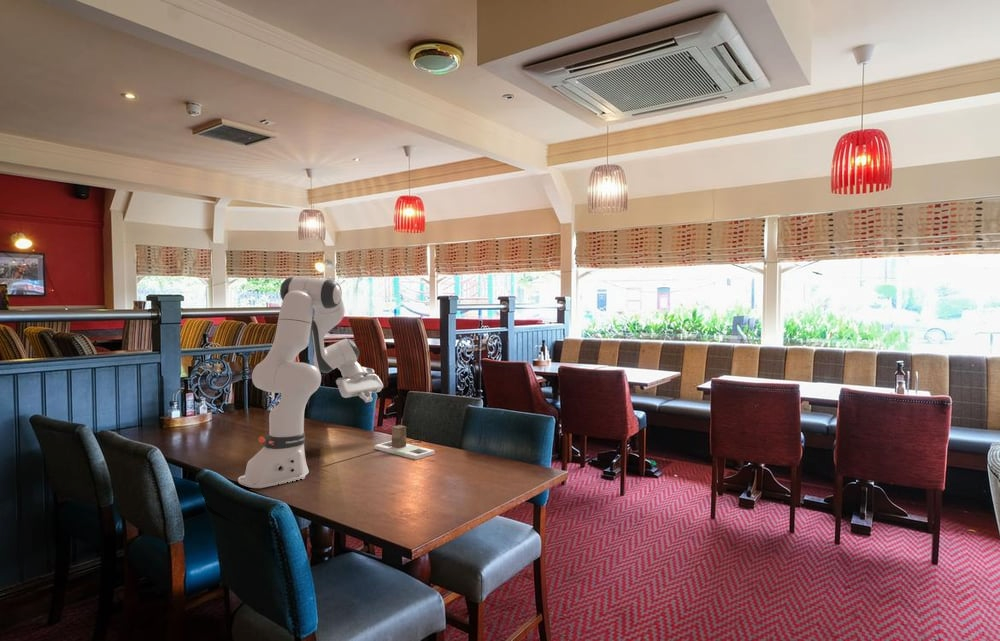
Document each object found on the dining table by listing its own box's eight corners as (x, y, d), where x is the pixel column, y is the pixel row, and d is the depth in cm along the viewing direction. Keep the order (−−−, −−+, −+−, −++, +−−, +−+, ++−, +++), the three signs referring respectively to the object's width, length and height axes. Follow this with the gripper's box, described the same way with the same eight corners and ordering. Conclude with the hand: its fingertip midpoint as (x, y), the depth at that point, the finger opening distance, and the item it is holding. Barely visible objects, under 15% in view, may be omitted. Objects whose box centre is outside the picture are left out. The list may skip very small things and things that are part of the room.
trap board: (416, 459, 211) (416, 455, 211) (374, 448, 225) (374, 445, 225) (434, 454, 219) (434, 450, 219) (393, 443, 233) (393, 440, 233)
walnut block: (398, 448, 221) (398, 428, 221) (391, 446, 223) (391, 426, 223) (406, 446, 224) (406, 426, 224) (399, 444, 226) (399, 425, 226)
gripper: (337, 373, 230) (352, 400, 225) (376, 368, 246) (391, 393, 241) (330, 383, 233) (345, 409, 228) (369, 377, 249) (384, 402, 244)
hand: (369, 401), depth 234 cm, fingers closed
